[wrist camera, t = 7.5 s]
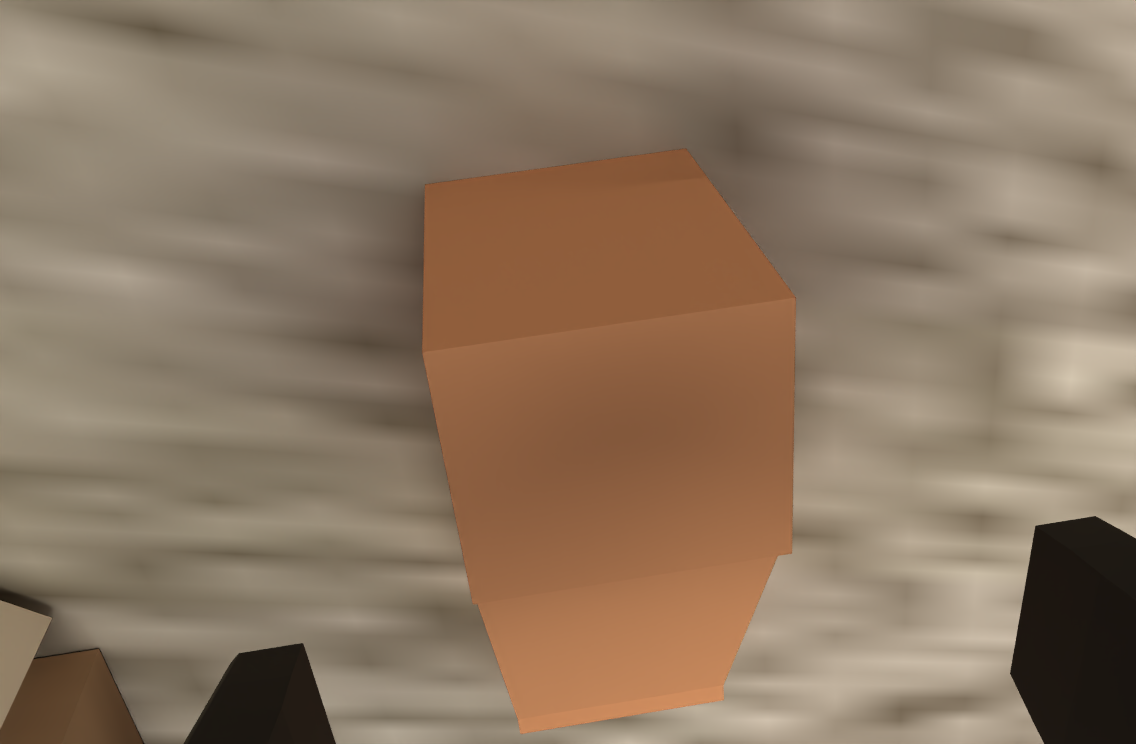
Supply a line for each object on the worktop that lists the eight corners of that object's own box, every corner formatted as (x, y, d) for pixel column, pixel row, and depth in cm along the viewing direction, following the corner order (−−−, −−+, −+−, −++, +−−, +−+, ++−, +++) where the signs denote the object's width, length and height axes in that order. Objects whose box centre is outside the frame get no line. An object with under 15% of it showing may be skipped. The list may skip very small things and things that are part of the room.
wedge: (707, 649, 23) (786, 893, 18) (515, 681, 23) (539, 937, 18) (685, 148, 17) (795, 297, 12) (425, 184, 17) (421, 352, 12)
